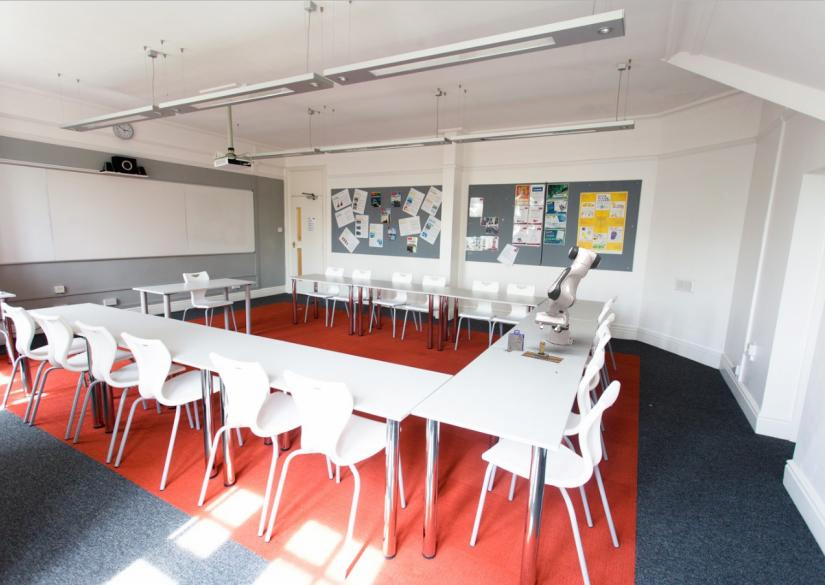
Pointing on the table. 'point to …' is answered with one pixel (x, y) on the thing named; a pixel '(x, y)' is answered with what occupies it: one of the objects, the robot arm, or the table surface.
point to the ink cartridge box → (515, 341)
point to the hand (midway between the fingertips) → (548, 330)
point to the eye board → (543, 357)
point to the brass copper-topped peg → (542, 348)
